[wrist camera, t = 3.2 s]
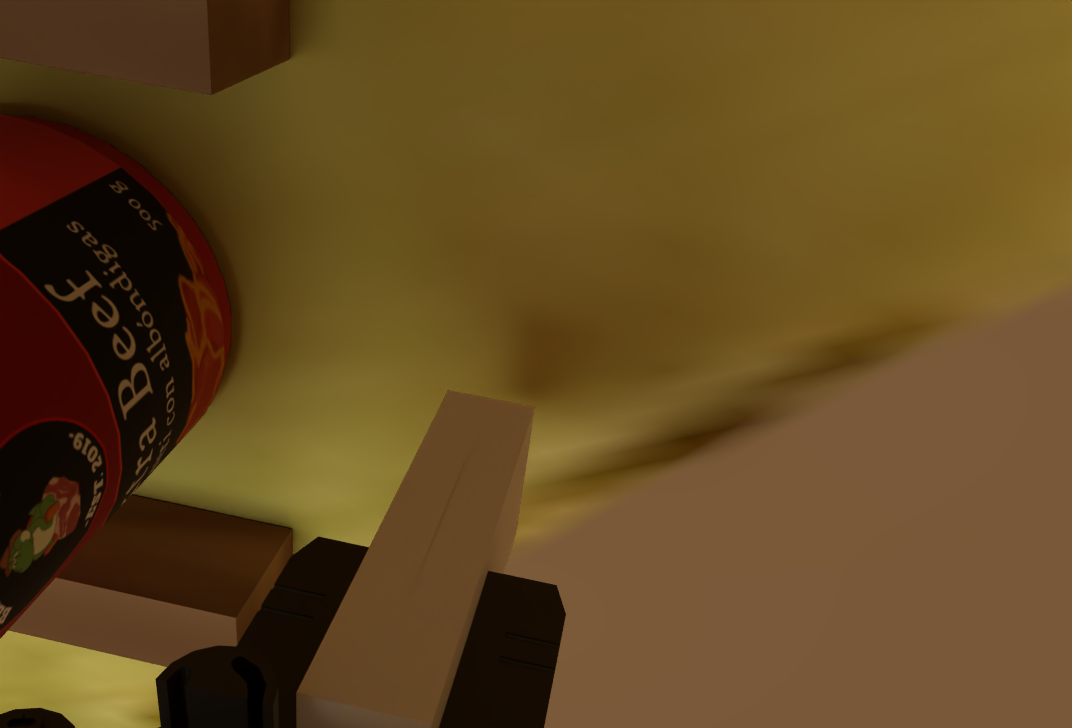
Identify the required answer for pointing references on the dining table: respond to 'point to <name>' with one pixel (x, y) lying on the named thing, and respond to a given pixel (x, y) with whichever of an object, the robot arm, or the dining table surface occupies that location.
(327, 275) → the dining table surface
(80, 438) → the canned food
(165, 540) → the slot board
